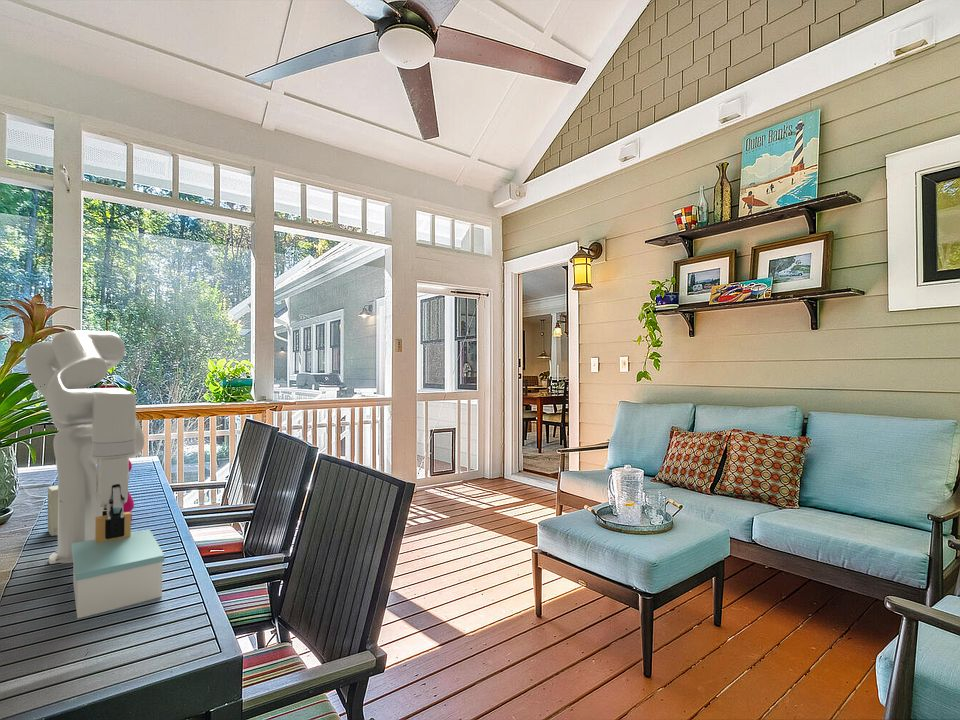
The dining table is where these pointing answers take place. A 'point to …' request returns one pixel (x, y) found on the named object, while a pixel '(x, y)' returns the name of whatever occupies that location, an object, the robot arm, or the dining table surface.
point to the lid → (114, 551)
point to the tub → (117, 589)
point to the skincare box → (53, 510)
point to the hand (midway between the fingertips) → (113, 531)
